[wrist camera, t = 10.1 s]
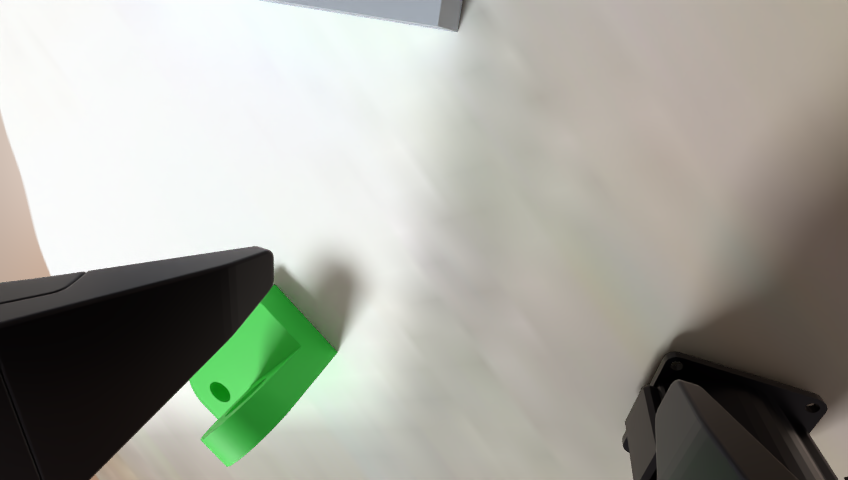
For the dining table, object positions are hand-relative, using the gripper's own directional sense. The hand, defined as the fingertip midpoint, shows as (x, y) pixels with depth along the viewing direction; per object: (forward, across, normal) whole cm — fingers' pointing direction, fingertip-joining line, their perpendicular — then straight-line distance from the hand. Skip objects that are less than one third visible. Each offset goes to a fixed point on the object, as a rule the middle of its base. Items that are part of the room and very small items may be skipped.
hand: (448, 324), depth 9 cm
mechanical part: (+12, +14, +17) cm, 25 cm away
